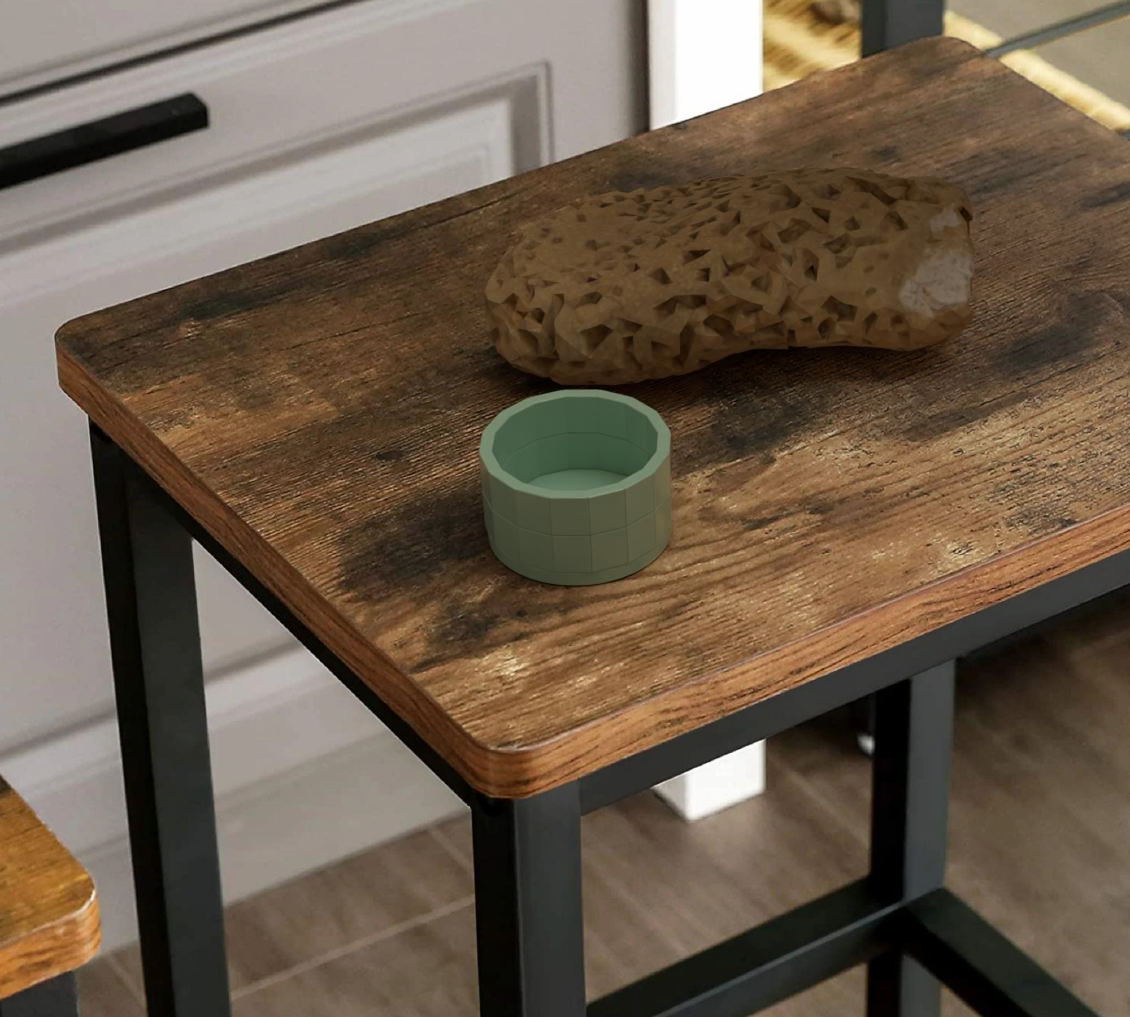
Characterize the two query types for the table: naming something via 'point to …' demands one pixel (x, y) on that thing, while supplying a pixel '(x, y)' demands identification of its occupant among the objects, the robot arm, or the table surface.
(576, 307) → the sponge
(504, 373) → the table surface
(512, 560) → the green ceramic dish
